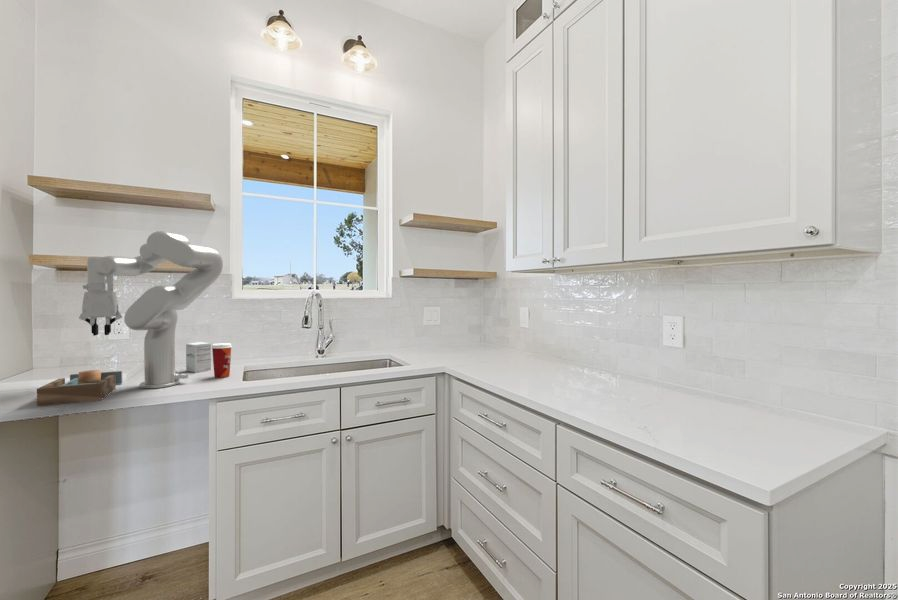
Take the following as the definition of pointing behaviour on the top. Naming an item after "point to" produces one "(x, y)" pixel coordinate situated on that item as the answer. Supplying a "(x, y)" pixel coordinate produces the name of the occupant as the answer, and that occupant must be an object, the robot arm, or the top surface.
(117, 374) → the tray
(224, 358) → the paper cup
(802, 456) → the top surface
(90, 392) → the brown wooden open box
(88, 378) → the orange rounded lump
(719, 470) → the top surface
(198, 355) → the supplement box
